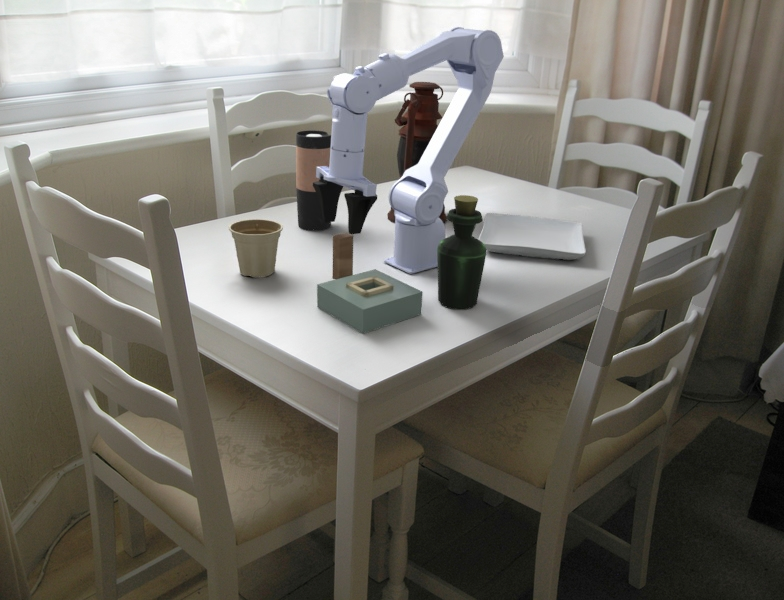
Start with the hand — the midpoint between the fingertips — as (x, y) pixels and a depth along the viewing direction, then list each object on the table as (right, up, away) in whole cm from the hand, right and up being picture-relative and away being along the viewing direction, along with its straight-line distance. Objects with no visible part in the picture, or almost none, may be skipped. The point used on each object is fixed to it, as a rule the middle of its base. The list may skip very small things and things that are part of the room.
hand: (341, 227), depth 123 cm
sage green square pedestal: (+5, -14, -9) cm, 17 cm away
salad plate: (+38, -1, +26) cm, 46 cm away
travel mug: (-8, +3, +31) cm, 33 cm away
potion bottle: (+20, -13, -4) cm, 24 cm away
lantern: (+15, +6, +40) cm, 43 cm away
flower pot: (-16, -8, +5) cm, 18 cm away
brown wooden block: (0, -9, +4) cm, 10 cm away
